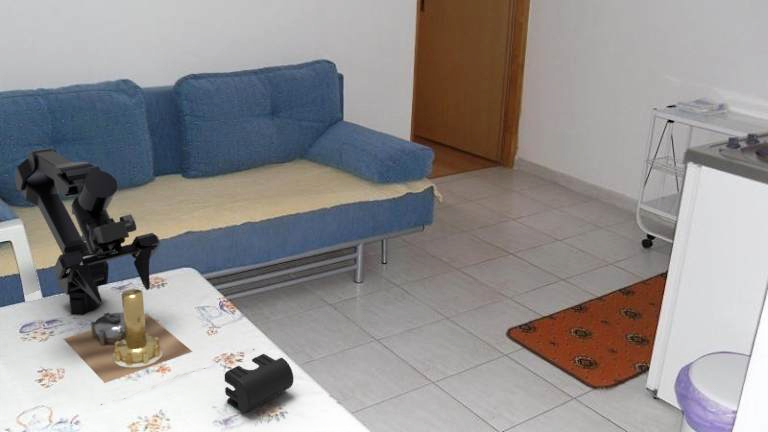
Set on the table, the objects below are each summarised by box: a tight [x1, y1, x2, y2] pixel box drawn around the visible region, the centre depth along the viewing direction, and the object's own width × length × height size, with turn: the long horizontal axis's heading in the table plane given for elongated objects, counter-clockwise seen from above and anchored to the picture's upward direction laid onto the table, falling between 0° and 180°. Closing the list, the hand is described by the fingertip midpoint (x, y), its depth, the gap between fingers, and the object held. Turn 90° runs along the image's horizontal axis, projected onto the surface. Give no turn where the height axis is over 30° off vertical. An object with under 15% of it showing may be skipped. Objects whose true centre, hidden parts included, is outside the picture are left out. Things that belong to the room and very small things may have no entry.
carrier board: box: [63, 312, 193, 384], centre depth 147 cm, size 20×17×2 cm
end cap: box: [224, 353, 295, 413], centre depth 132 cm, size 10×7×7 cm
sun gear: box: [90, 312, 126, 347], centre depth 149 cm, size 9×8×4 cm
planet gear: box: [114, 288, 160, 365], centre depth 141 cm, size 8×8×12 cm
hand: (124, 295), depth 142 cm, fingers open, 9 cm apart
